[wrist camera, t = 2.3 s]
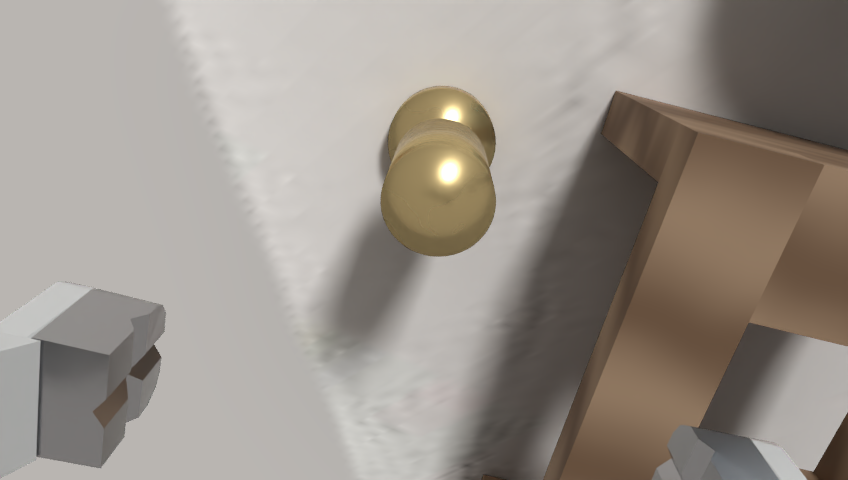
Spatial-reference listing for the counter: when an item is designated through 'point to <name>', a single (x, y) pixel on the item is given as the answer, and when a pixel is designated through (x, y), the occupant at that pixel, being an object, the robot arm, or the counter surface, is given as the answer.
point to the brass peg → (439, 172)
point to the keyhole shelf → (707, 281)
